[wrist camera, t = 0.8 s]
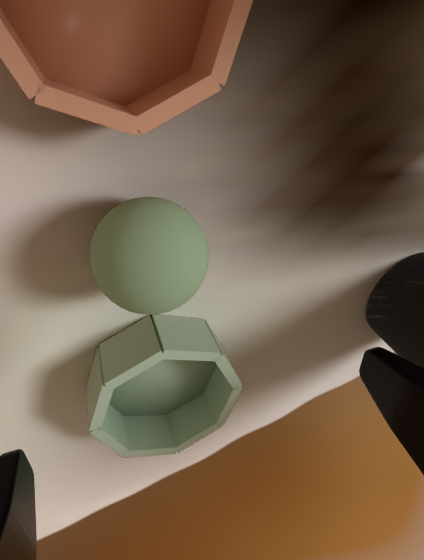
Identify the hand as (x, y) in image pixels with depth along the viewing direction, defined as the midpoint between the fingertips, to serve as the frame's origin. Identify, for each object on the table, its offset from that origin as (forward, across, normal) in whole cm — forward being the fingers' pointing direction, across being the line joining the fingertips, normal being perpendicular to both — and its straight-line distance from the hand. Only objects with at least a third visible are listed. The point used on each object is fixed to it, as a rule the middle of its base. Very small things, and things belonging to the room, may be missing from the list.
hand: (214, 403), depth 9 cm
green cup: (+11, 0, +10) cm, 14 cm away
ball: (+8, 0, 0) cm, 8 cm away
